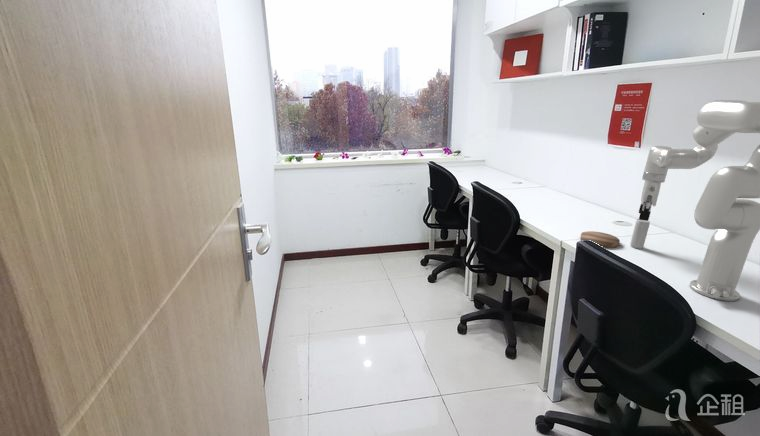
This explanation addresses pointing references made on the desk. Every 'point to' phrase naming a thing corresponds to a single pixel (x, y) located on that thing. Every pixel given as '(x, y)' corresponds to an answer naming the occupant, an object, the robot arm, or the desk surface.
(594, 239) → the walnut board
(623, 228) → the desk surface
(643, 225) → the beverage can
